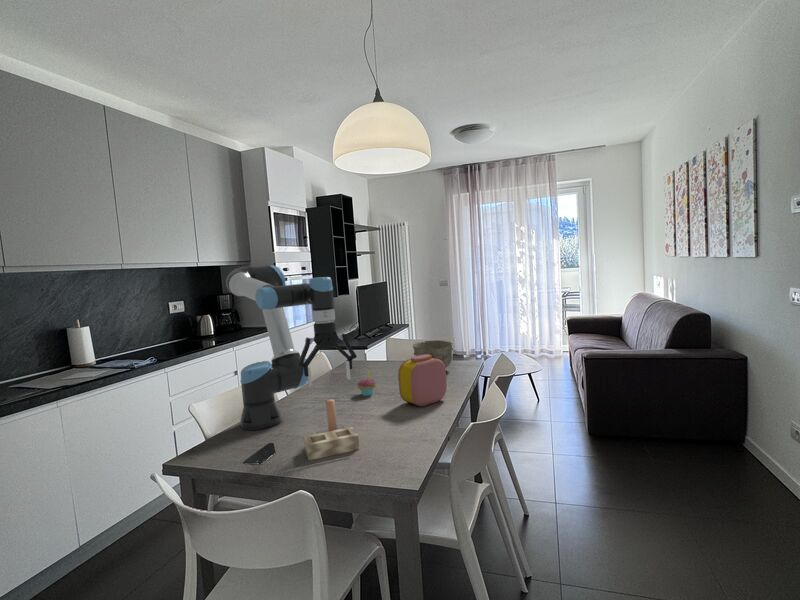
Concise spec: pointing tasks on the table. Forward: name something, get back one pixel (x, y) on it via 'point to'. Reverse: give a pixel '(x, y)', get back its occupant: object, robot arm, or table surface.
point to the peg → (331, 415)
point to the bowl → (435, 350)
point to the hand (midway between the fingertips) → (329, 382)
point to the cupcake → (367, 386)
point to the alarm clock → (422, 380)
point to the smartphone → (262, 454)
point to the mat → (328, 431)
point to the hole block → (331, 443)
